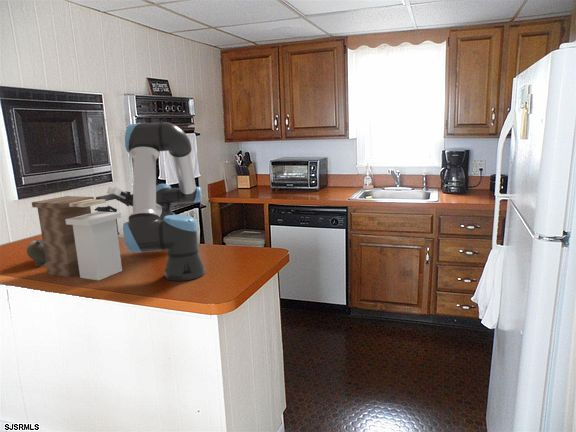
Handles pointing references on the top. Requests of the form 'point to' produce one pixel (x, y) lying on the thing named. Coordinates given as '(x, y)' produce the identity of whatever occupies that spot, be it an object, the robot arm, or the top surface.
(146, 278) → the top surface
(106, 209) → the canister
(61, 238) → the plinth
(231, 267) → the top surface
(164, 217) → the robot arm
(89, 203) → the turner
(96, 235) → the white tapered pedestal
